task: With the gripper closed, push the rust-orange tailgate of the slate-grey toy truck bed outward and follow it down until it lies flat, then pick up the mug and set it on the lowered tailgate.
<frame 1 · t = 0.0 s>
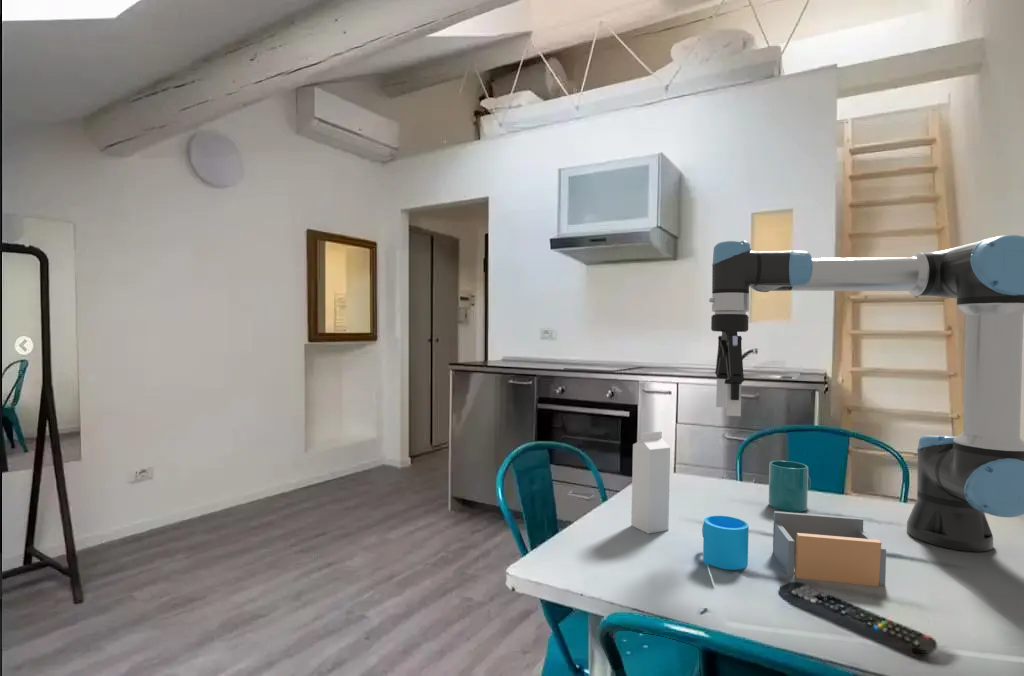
hand: (727, 411, 121), 28 cm above the table, fingers open, 13 cm apart
mug: (719, 560, 110), on the table
cup: (791, 507, 145), on the table
tailgate: (836, 559, 100), point 5 cm above the table, hinge at 5.0°
milk: (649, 528, 128), on the table
truck bed: (824, 569, 106), on the table
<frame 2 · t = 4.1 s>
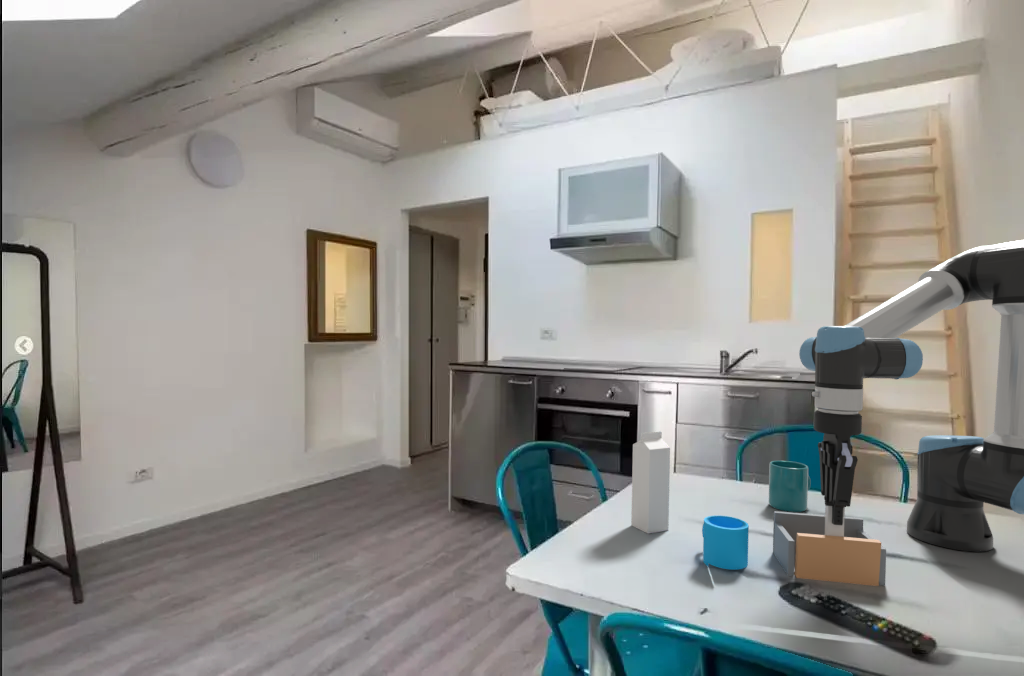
hand: (834, 540, 101), 8 cm above the table, fingers closed
tailgate: (836, 559, 100), point 5 cm above the table, hinge at 5.0°, touching gripper
everything else where it was.
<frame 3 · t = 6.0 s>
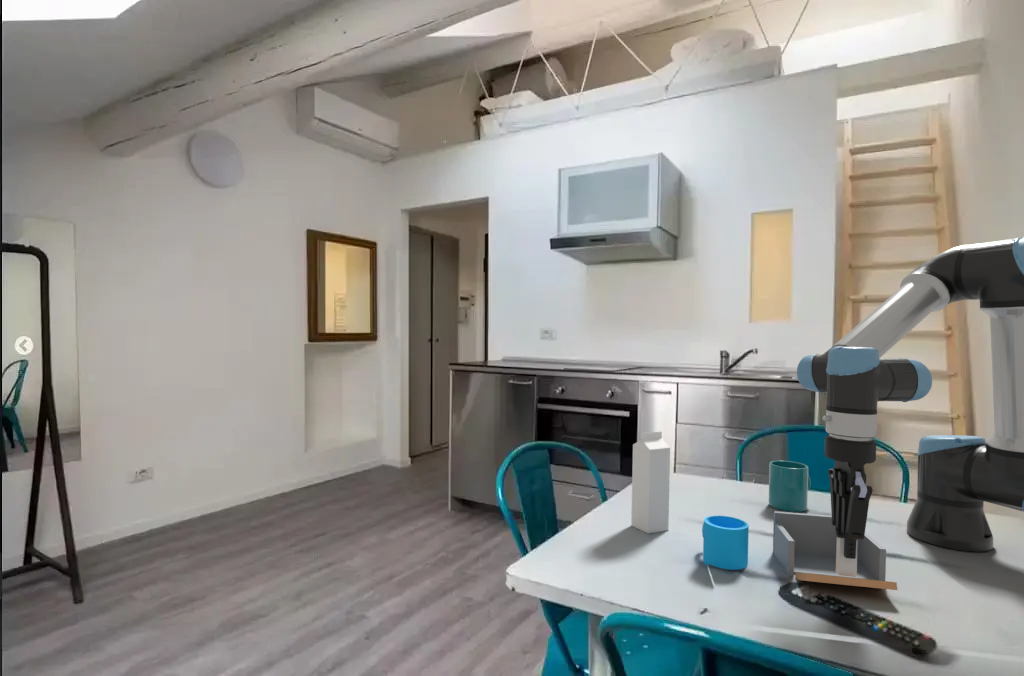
hand: (845, 574, 95), 4 cm above the table, fingers closed
tailgate: (843, 580, 97), point 2 cm above the table, hinge at 68.2°, touching gripper
everything else where it was.
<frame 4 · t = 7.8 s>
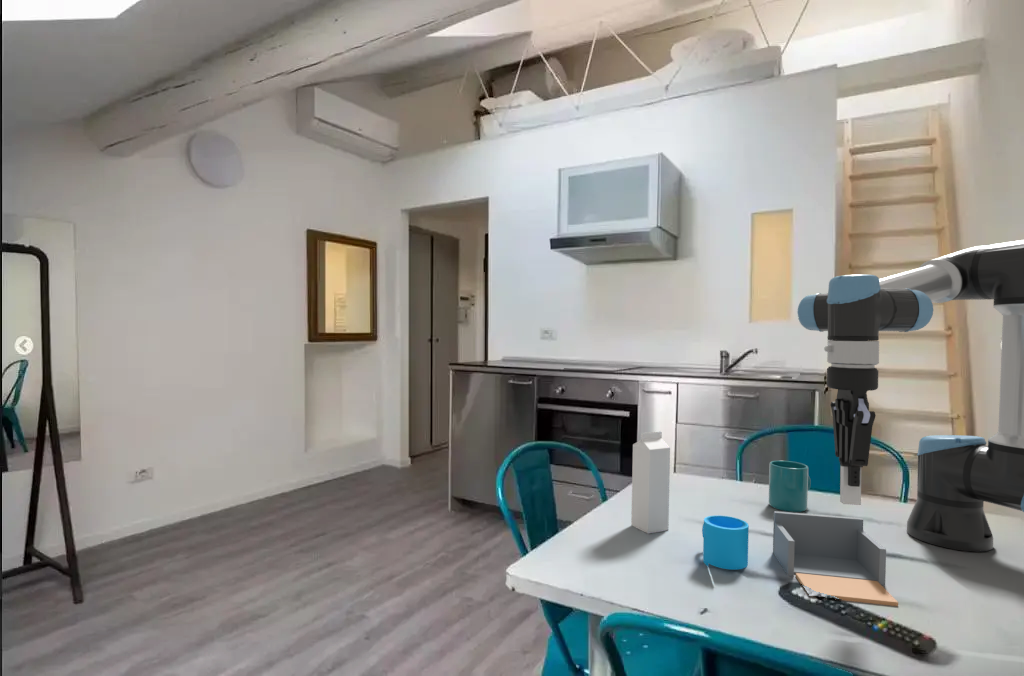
hand: (850, 503, 95), 16 cm above the table, fingers closed
tailgate: (844, 590, 96), point 1 cm above the table, hinge at 90.1°
everything else where it was.
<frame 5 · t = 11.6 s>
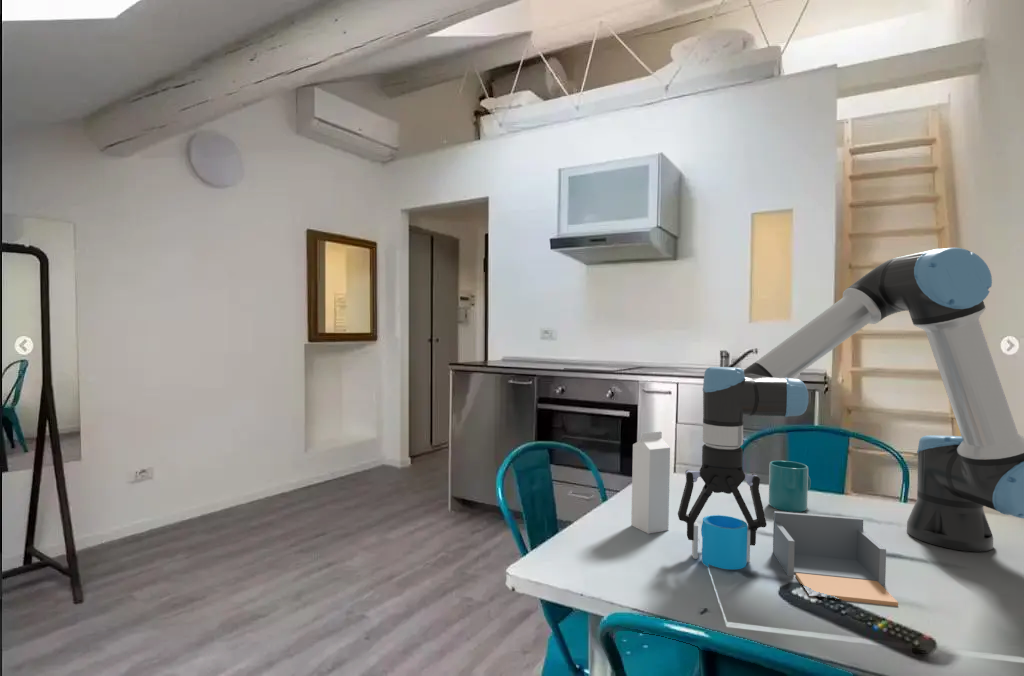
hand: (720, 558, 110), 0 cm above the table, fingers open, 9 cm apart
mug: (718, 560, 110), on the table, touching gripper
everything else where it was.
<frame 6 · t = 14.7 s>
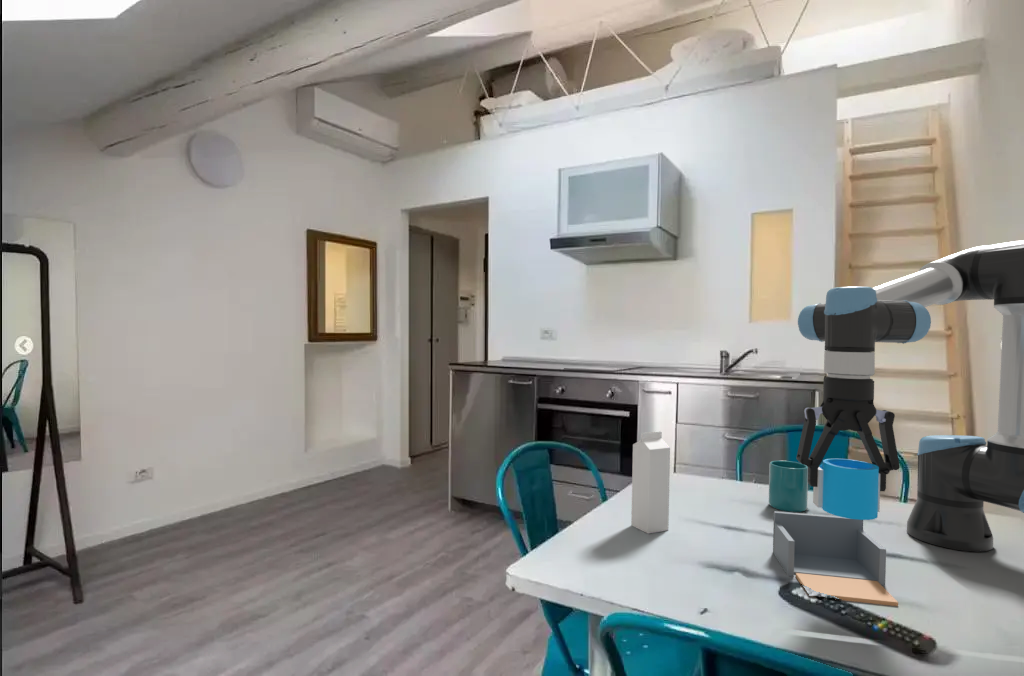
hand: (845, 507, 96), 15 cm above the table, fingers closed on mug, 8 cm apart
mug: (840, 509, 96), point 15 cm above the table, touching gripper
everything else where it was.
when the fingers open (3 cm above the table, at t = 17.3 s): mug drops 2 cm, resting on tailgate.
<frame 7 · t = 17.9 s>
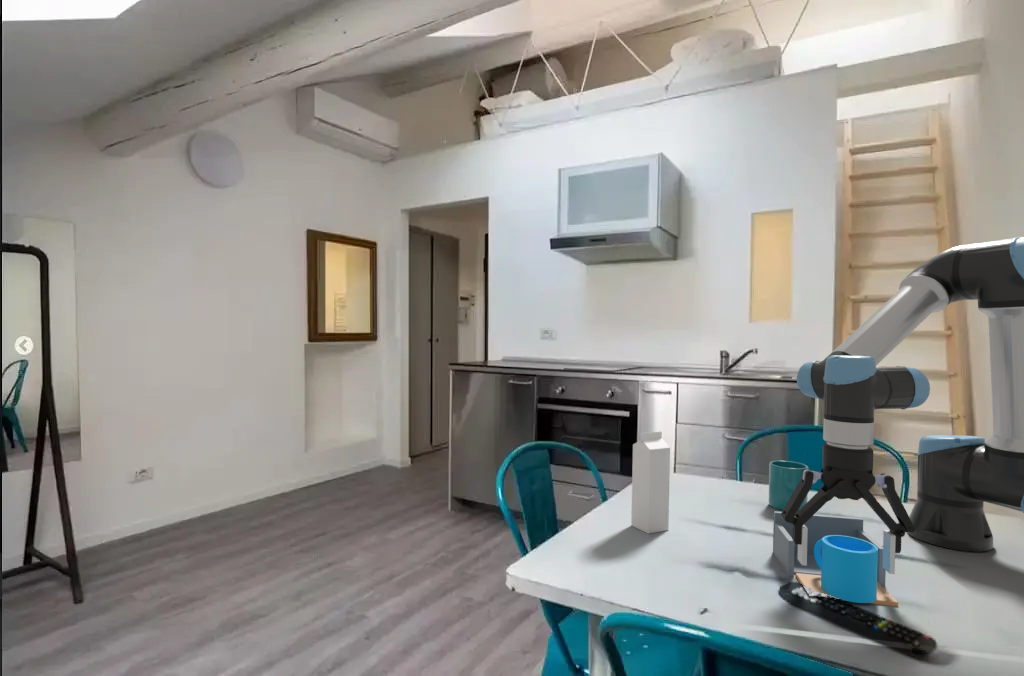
hand: (844, 566, 96), 5 cm above the table, fingers open, 13 cm apart
mug: (839, 587, 97), point 1 cm above the table, touching tailgate
tailgate: (844, 590, 96), point 1 cm above the table, hinge at 90.1°, touching mug
everything else where it was.
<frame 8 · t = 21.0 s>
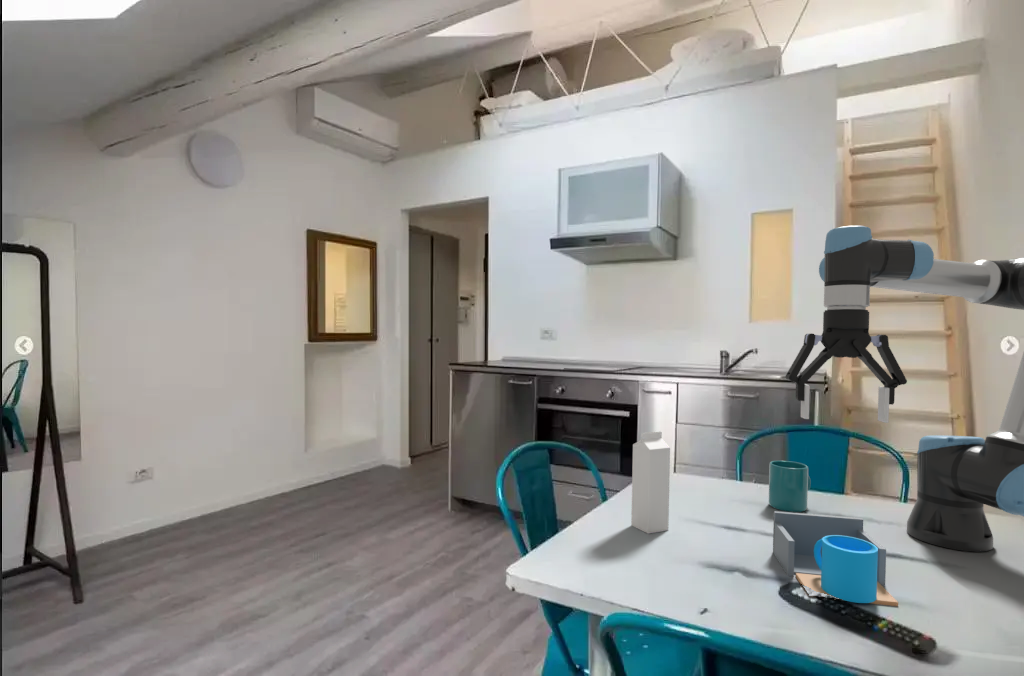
hand: (843, 420, 106), 29 cm above the table, fingers open, 13 cm apart
nothing on the table moved.
at the end: tailgate at +90° (first picture: +5°); mug inside the target area (0.9 cm from its centre), point 1.0 cm above the table; mug tilted 0° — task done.
